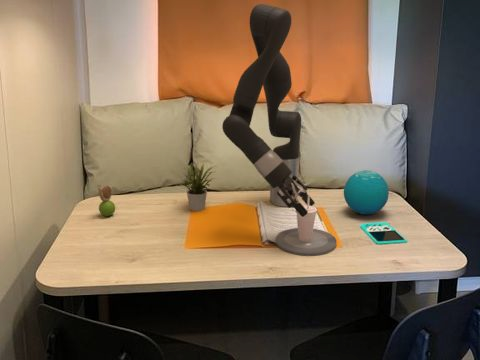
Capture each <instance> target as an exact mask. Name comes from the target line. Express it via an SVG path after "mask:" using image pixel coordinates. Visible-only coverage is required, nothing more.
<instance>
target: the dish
mask: <svg viewBox="0 0 480 360" xmlns="http://www.w3.org/2000/svg"><path fill="white" fill-rule="evenodd" d="M275 245H276V246H277V248H279V249H280V250H282V251H284V252H285V253H288V254H293V255H297V256H303V257H304V256H306V257H309V256H310V257H312V256H321V255H326V254H328V253H332V252H333V251H335V249H336V248H337V239H336V236H334V235H333V234H331V233H330V232H328V231H326V230H321V229H318V228H313V233H312V239H311V241H308V242H304V241H300V240H299V234H298V227H294V228H289V229H285V230H282V231H280V232H279V233H278V234H276V237H275Z"/></svg>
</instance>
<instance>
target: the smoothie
mask: <svg viewBox="0 0 480 360" xmlns="http://www.w3.org/2000/svg"><path fill="white" fill-rule="evenodd" d="M310 195H311V194H308V203H307V204H302V205H303V206H304V208H305V209H306V210H307V211H308V213H307V214H306V215H305V216H304V217H302V216H301V215H300V214H299V213H298V212H297V211H296V210H294V211H295V213H296V223H297V228H298V234H299V240H300V241H304V242H308V241H311V239H312V233H313V229H314V226H315V220H316V215H317V214H318V209H317V208H316V207H315V206H314V205H313V206H310V205H309V200H310V197H311V196H310Z"/></svg>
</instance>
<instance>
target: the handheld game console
mask: <svg viewBox="0 0 480 360" xmlns="http://www.w3.org/2000/svg"><path fill="white" fill-rule="evenodd" d="M359 228H360V229H361V230H362V231H363V232H364V233H365V234H366V235H367V237H369V238H370V239H371V241H372V242H374V244H376V245H377V246H379V245H392V244H394V245H395V244H407V243H408V240H407V239H406V238H405V237H404V236H403V235H401V233H399V231H397V230H396V229H395V228H394V227H392V225H391V224H389V223H388V222H387V221H381V222H380V221H379V222H366V223H362V224H360V225H359Z"/></svg>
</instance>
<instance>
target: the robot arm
mask: <svg viewBox="0 0 480 360" xmlns="http://www.w3.org/2000/svg"><path fill="white" fill-rule="evenodd" d="M249 15H250V16H249V30H250V34H251V37H252V41H253V44H254V47H255V50H256V54H257V58H256V59H255V60H254V61H253V62H252V63H251V64H250V65H249V66H248V67H247V68H246V69H245V70H244V71H243V73H242V74H241V75H240V78H239V80H238V83H237V86H236V88H235V91H234V94H233V98H232V102H233V103H232V107H231V110H230V112H229V114H228V116H226V118H224V120H223V122H222V126H221V127H222V131H223V134H224V135H225V136H226V137H227V138H228V140H229V141H230V142H232V144H234V145H235V147H237V148H238V149H239V150H240V151H241V152H242V153H243V154H244V156H245V157H246V158H247V159H248V161H249V162H250V163H251V164H252V165H253V166H254V168H255V169H256V171H257V172H258V173H259V175H261V177H262V178H263V179H264V180H265V181H266V182H267V183H268V184H269V189H270V190H269V201H270V202H271V204H273V205H274V206H278V207H284V208H285V207H287V208H288V209H291V208H292V209H294V210H295V211H297V212H298V213H299V214H300V215H301V216H302V217H304V216H305V215H306V214H307V213H308V211H307V210H306V209H305V208H304V206H303V205H304V204H302V203H301V202H300V200H299V198H301V200H302V201H303V202H304V203H305V205H307V203H308V195H309V194H308V187H306V186H305V184H304V183H303V182H302V181H301V180H300V179H299V169H300V167H299V166H300V144H301V143H300V142H301V141H300V140H301V132H302V131H301V129H302V116H301V113H300V112H298V111H290V110H289V111H288V110H279V108H280V105H281V103H282V102H283V101H284V100H285V98H286V97H287V96H288V94H289V93H290V91H291V88H292V85H293V83H292V74H291V73H292V72H291V69H290V65H289V63H288V61H287V60H286V58H285V56H284V55H283V54H282V52H281V50H282V48H283V46H284V44H285V41H286V39H287V37H288V35H289V32H290V30H291V25H292V15H291V13H290V12H289V10H287V9H285V8H281V7H277V6H272V5H269V4H264V3H262V4H261V3H259V4H256V5H255V6H254V7H253V8H252V9H251V12H250V14H249ZM262 88H263V90H264V97H265V102H266V109H267V123H268V130H269V133H270V135H271V136H272V137H274V138H280V139H281V138H282V139H284V138H285V139H289V141H288V142H286V143H285V144H282V145H278V146H275V147H274V148H273V149H272V148H271V147H270V146H269V145H268V144H267V143H266V141H264V139H263V138H261V137H260V136H258V135H257V134H256V132H254V130H253V129H252V128H251V127H250V126H251V123H252V119H253V115H254V111H255V108H256V105H257V103H258V100H259V98H260V95H261V91H262ZM298 197H299V198H298ZM315 203H316V202H315V201H314V199H313V198H312V196H310V200H309V205H310V206H314V205H315Z"/></svg>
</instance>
